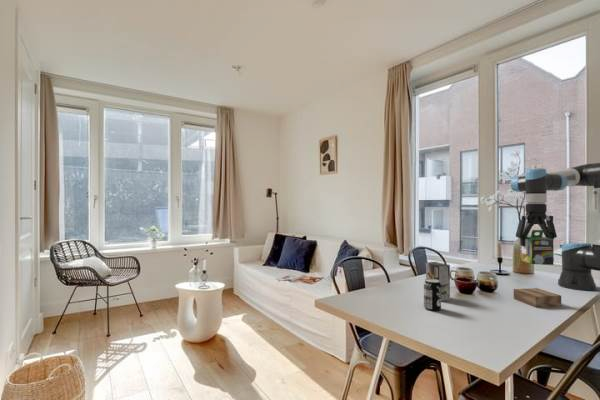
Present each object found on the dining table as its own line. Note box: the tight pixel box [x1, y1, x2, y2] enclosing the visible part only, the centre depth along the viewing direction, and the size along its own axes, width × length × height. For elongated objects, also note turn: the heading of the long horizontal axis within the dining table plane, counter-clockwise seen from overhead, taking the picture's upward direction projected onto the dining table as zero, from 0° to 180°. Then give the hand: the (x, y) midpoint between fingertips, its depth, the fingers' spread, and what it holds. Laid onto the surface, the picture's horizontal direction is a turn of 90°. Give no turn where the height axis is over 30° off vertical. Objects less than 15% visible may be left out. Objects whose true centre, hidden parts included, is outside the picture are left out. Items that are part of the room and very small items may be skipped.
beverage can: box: [423, 278, 442, 312], centre depth 132 cm, size 7×7×12 cm
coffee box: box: [425, 261, 451, 302], centre depth 147 cm, size 9×6×16 cm
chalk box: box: [519, 229, 555, 266], centre depth 140 cm, size 9×9×15 cm
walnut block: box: [513, 287, 562, 308], centre depth 140 cm, size 12×12×5 cm
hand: (536, 253), depth 140 cm, fingers closed on chalk box, 9 cm apart
